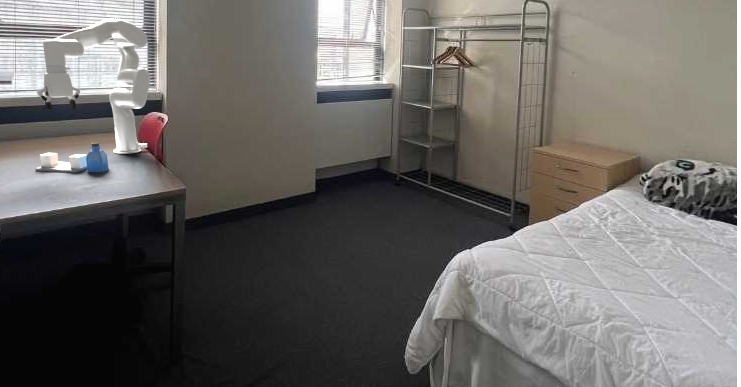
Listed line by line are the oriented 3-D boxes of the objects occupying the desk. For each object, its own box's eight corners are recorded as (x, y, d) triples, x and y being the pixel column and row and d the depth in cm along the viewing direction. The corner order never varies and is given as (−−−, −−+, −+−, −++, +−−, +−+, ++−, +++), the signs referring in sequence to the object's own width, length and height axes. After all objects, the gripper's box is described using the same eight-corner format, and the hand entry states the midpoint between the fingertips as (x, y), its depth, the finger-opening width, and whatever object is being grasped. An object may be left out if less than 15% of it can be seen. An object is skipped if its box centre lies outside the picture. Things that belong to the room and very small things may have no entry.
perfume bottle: (93, 168, 233) (90, 141, 229) (108, 168, 233) (105, 141, 230) (87, 172, 227) (84, 144, 223) (102, 172, 227) (99, 144, 224)
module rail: (92, 166, 236) (91, 153, 235) (75, 172, 225) (73, 158, 223) (55, 164, 238) (53, 151, 237) (35, 170, 227) (33, 156, 225)
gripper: (73, 69, 235) (77, 108, 239) (30, 69, 221) (35, 111, 226) (81, 70, 231) (86, 110, 235) (38, 70, 217) (44, 112, 221)
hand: (61, 110), depth 230 cm, fingers open, 9 cm apart
